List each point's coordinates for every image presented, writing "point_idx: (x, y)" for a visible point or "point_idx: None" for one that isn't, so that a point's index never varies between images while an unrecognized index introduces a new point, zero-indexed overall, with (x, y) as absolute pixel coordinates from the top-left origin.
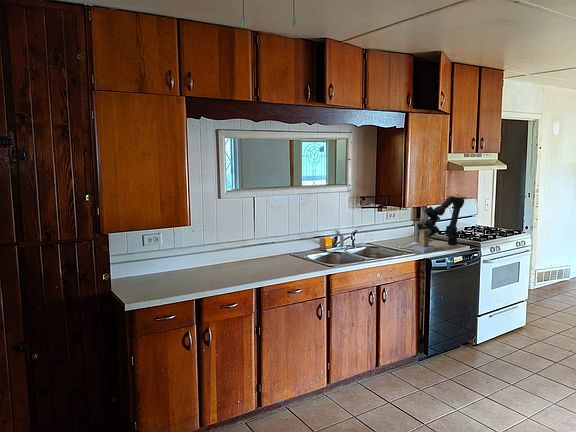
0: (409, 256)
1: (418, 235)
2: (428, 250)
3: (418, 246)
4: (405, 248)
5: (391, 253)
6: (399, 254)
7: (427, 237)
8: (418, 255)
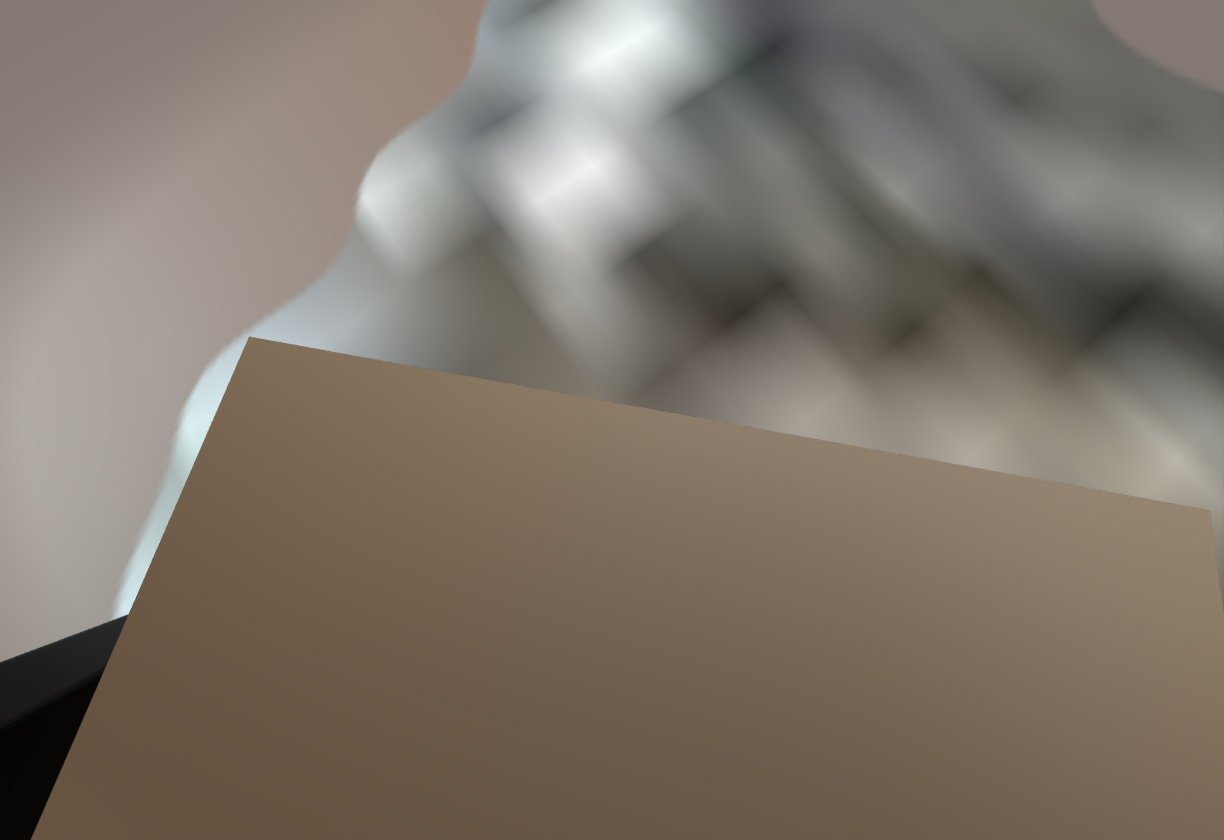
0: (493, 24)
1: None
2: None
3: None
4: None
5: (945, 26)
6: (764, 44)
7: None
8: (377, 184)
